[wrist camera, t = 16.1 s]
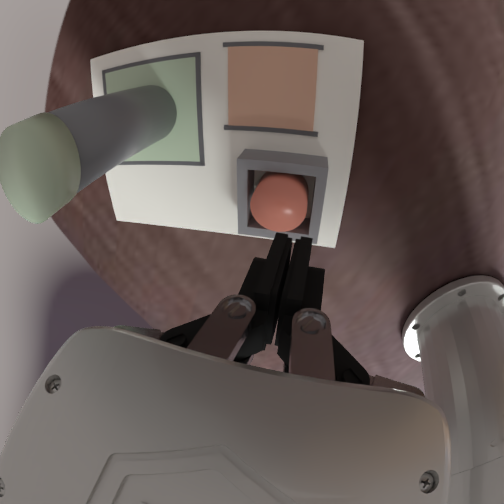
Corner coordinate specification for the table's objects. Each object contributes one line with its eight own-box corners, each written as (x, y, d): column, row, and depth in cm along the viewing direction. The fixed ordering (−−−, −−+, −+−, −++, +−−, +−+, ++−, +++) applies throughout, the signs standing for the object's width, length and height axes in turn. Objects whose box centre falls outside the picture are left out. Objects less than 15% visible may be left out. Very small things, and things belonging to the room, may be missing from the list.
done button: (310, 169, 16) (309, 185, 14) (305, 215, 18) (303, 235, 16) (258, 164, 17) (250, 178, 15) (257, 209, 19) (249, 228, 17)
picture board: (362, 41, 11) (370, 36, 9) (334, 243, 20) (335, 265, 18) (94, 58, 14) (71, 62, 12) (119, 217, 23) (104, 233, 21)
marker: (174, 78, 14) (35, 111, 6) (182, 139, 17) (67, 223, 8) (120, 91, 15) (-12, 139, 7) (130, 146, 17) (15, 223, 9)
